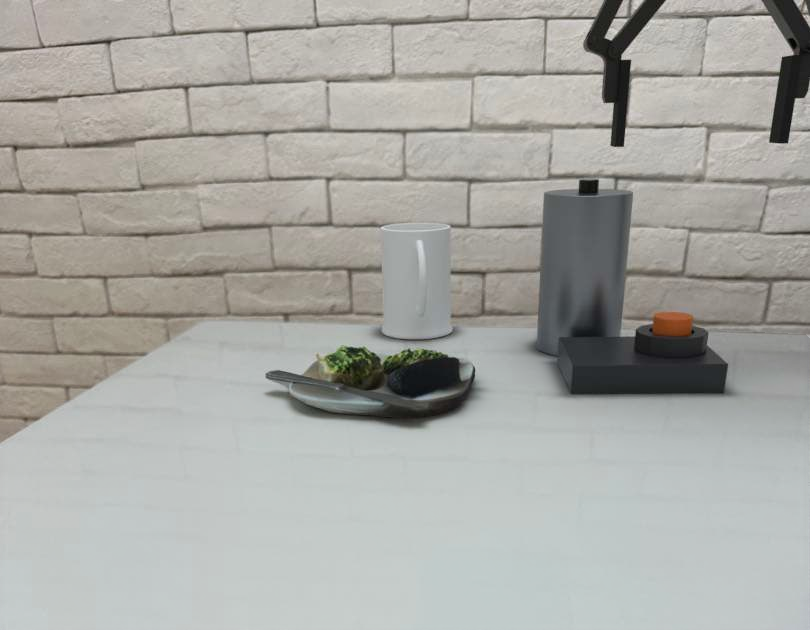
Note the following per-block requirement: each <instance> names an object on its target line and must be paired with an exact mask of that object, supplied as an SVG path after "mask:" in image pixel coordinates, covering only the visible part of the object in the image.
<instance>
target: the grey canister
mask: <svg viewBox="0 0 810 630" xmlns="http://www.w3.org/2000/svg"><path fill="white" fill-rule="evenodd" d="M599 187H600V179H598V178H581V179H579V180H578V188H568V189H554V190H547V191H544V192H543V203H542V222H541V223H542V225H541V243H540V244H541V245H540V265H539V284H538V285H539V286H538V305H537V306H538V307H537V327H536V329H537V330H536V349H537V350H538V351H540V352H541V353H544V354H546V355H547V354H548V355H550V356H556V357H558V340H559V337H621V335H622V334H621V333H622V323H623V322H622V321H623V311H624V301H625V291H626V290H625V289H626V288H625V287H626V278H627V267H628V255H629V246H630V245H629V244H630V234H631V223H632V213H633V212H632V211H633V200H634V191H632V190H629V189H628V190H627V189H618V188H617V189H616V188H599Z"/></svg>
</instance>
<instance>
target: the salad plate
mask: <svg viewBox="0 0 810 630" xmlns="http://www.w3.org/2000/svg"><path fill="white" fill-rule="evenodd" d="M315 356H316V359H317V360H316V361H314V362H312V363H311V364H310V365H309V367H308V368H306V370H305V371H304V372H302V374H298V373H293V372H289V371H285V370H280V369H276V370H275V369H274V370H270V371H267V372H266V373H265V379H267V381H271V382H273V383H276V384H279V385H281V386H283V387H285V388H287V389H288V393H289V395H291V396H292V397H294V399H297V400H299V401H300V402H301V403H304V404H306V405H309V406H312V407H314V408H317V409H319V410H323V411H325V412H329V413H333V414H342V415H357V416H371V417H383V418H403V419H404V418H406V419H407V418H409V419H410V418H412V419H413V418H426V417H427V418H428V417H433V416H438V415H441V414H444V413H449V412H451V411H453V410H455V409H457V408H459V407H460V406H461V405H462V403H463V402H464V401H465V399H466V398H467V396H468V395H469V393H470V390H471V387H472V385H473V382H474V381H475V378H476V368H475V366H474V364H473V363H472V362H471V361H470V360H468V359H466V358H463V357H460V356H455V355H452V354H445V353H443V352H441V351H438V352H437V351H436V350H435V349H434V350H433V349H424V348H421V347H417V348H416V349H414V350H411V349H410V347H408V348H407V349H404V350H401V352H399V353H395V354H387V353H385V354H384V353H375V352H373V351H370V350H369V349H368V348H366V346H362V347H361V346H359V347H354V346H346V345H341V346H340V347H339V348H337V349H336V350H335V352H333V353H326V354H324V356H323V357H322V356H320V354H319V353H316V355H315Z"/></svg>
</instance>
